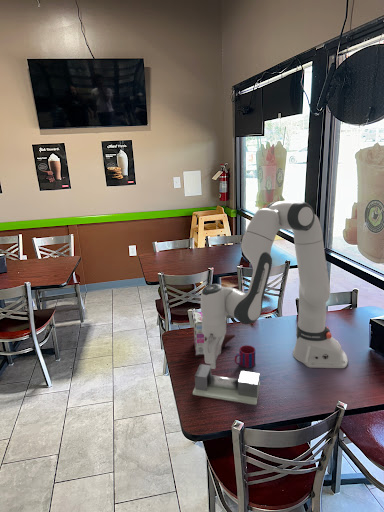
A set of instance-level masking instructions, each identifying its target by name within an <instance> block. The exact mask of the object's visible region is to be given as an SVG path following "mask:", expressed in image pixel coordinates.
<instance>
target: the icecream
mask: <svg viewBox="0 0 384 512" xmlns="http://www.w3.org/2000/svg"><path fill="white" fill-rule="evenodd" d="M235 337H236V335H235V334H225V337H224V340H223V342H222V345H221V349H222V348H225V347H226V345H227V343H229V342H230V341H231V340H232V339H234V338H235ZM206 340H207V338H206Z"/></svg>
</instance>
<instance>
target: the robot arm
mask: <svg viewBox="0 0 384 512" xmlns="http://www.w3.org/2000/svg"><path fill="white" fill-rule="evenodd" d="M248 223H249V224H248V225H247V227H246V230H245V232H244V234H243V236H242V239H241V243H240V245H241V246H240V248H241V251H242V253H243V255H244V257H245V258H246V259H247V260H248V261H249V263H250V264H251V266H252V275H251V279H250V283H249V285H248V289H247V292H243V291H242V290H240V289H237V288H234V287H232V286H227V287H225V286H222V285H221V284H219V283H212V284H209V285H206V286H204V287H203V289H202V291H201V294H200V312H202V332H203V334H204V335H205V336H206V339H207V340H206V342H205V347H204V355H203V356H204V362H205V365H210V367H211V370H215V369H216V367H217V362H216V361H217V358H218V356H220V355H221V353H222V348H221V345H222V342H223V340H224V337H225V335H227V334H226V333H227V322H228V320H227V317H228V316H231V317H233V318H234V319H236V320H237V321H238V322H239V323H241V324H242V325H251V324H253V323H254V322H256V321H258V320H259V318H260V316H261V315H262V311H263V303H264V298H265V297H264V296H265V293H266V290H267V285H268V283H269V282H268V281H269V279H270V275H271V271H272V265H273V257H272V255H271V253H272V248H273V243H274V241H275V239H276V237H277V233H278V232H279V231H280V230H291V231H292V233H293V241H294V250H295V257H296V258H295V259H296V265H297V270H298V278H299V280H298V281H299V282H298V283H299V284H298V318H297V319H298V320H297V321H298V322H297V325H296V334H295V336H296V340H295V346H294V348H293V350H292V356H293V357H294V359H296V360H297V361H299V362H300V363H303V364H304V365H305V366H306V367H308V368H309V369H310V368H311V369H312V368H314V369H315V368H316V369H317V368H319V369H324V368H325V369H345V368H346V367H347V366H348V356H347V353H346V352H345V351H344V350H343V349H342V346H341V344H340V342H339V341H338V340H337V339H335V338H334V337H333V336H332V333H331V330H330V329H329V326H328V325H327V327H326V321H327V302H328V301H329V299H330V295H331V285H330V278H329V272H328V265H327V259H326V253H325V251H326V250H325V245H324V235H323V231H322V230H323V229H322V226H321V223H320V220H319V217H318V216H317V215H316V214H315V210H314V209H313V207H312V205H310V204H309V203H307V202H305V201H302V200H298V201H297V200H289V199H288V200H281V201H280V200H277V201H276V200H275V201H273V202H272V201H271V202H270V203H269V204H268V205H266V206H265V207H263V208H260V209H258V210H257V211H256V212H255V213H254V214H253V217H252V218H251V219H250V222H248Z"/></svg>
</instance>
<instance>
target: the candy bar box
mask: <svg viewBox="0 0 384 512" xmlns="http://www.w3.org/2000/svg"><path fill="white" fill-rule="evenodd" d="M193 333H194V334H193V337H194V351H195V356H204V347H205V342H206V339H207V337H206V336H205V335H204V334H203V332H202V312H201V311H198V312H197V311H193Z"/></svg>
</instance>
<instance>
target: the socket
mask: <svg viewBox="0 0 384 512" xmlns="http://www.w3.org/2000/svg"><path fill="white" fill-rule="evenodd" d="M208 375H212V369H211V367H210V364H203V363H200V364H199V366H198V368H197V371H196V372H195V374H194V384H195V385H194V388H195V389H197V390H203V391H207V377H208Z"/></svg>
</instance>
